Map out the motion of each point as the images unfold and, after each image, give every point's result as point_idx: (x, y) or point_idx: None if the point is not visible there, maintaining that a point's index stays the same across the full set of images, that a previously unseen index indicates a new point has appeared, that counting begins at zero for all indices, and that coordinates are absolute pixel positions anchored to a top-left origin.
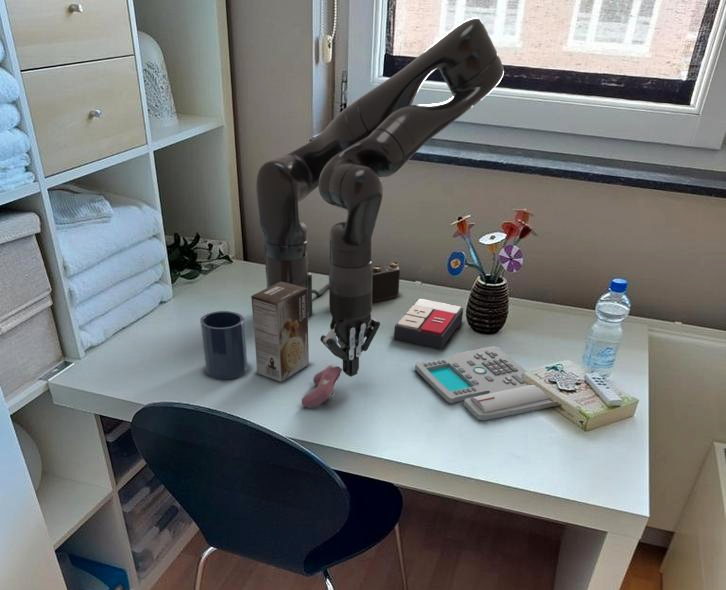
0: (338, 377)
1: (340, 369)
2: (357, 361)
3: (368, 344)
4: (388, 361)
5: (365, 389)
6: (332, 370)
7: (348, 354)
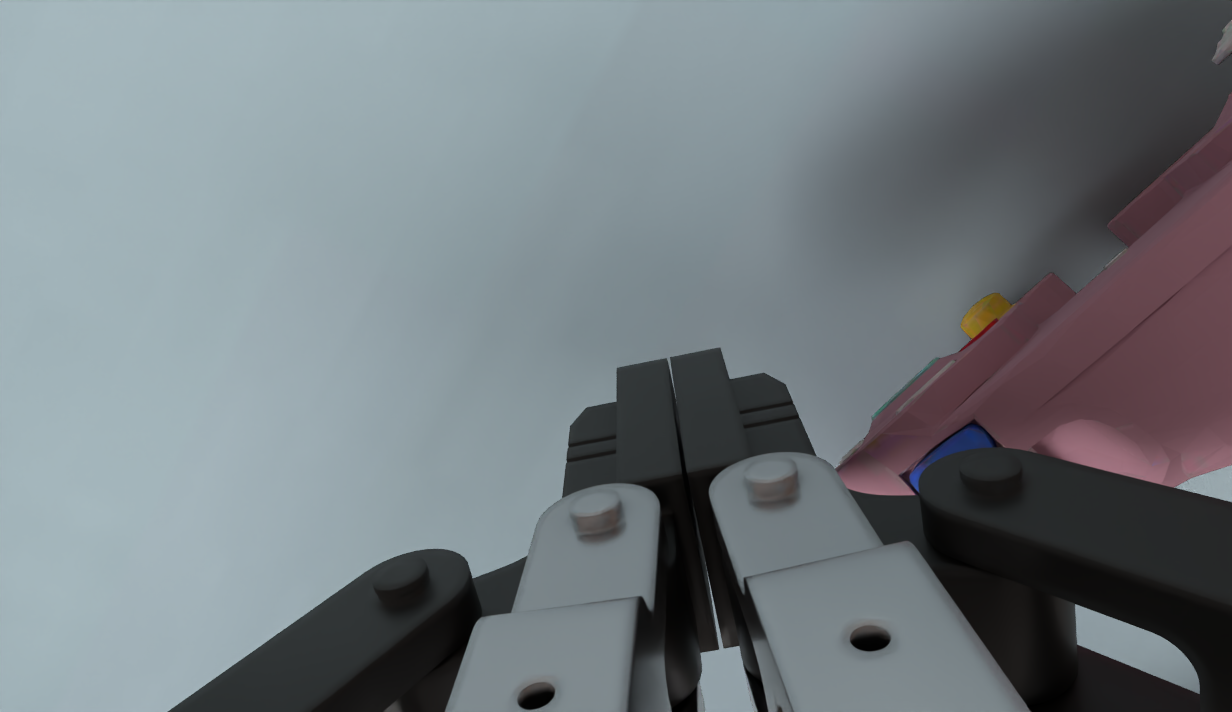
0: (939, 362)
1: (926, 425)
2: (616, 452)
3: (314, 636)
4: (48, 610)
5: (557, 213)
6: (1216, 345)
7: (862, 523)
